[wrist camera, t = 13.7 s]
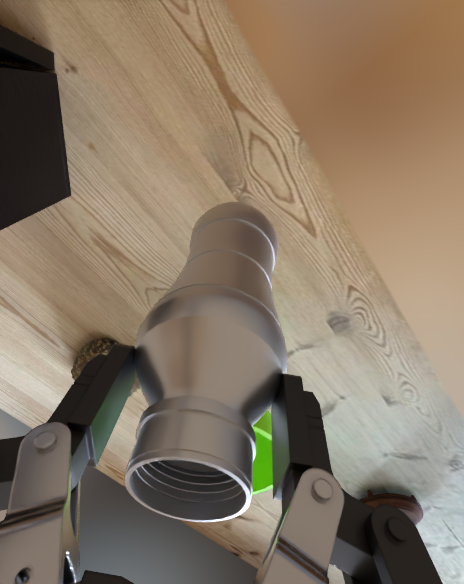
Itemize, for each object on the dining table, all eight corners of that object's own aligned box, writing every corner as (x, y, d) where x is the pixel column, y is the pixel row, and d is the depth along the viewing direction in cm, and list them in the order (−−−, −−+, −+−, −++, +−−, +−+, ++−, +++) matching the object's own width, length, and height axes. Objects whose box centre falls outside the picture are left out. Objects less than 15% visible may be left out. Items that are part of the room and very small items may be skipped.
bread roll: (67, 366, 57) (51, 387, 53) (98, 328, 52) (83, 349, 48) (126, 400, 61) (115, 423, 57) (161, 369, 55) (152, 391, 51)
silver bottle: (249, 282, 28) (230, 560, 11) (182, 243, 27) (45, 496, 10) (293, 224, 25) (360, 489, 8) (221, 177, 24) (117, 379, 7)
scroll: (428, 490, 68) (483, 620, 51) (405, 521, 76) (446, 643, 59) (360, 482, 69) (391, 608, 52) (343, 514, 76) (366, 632, 59)
